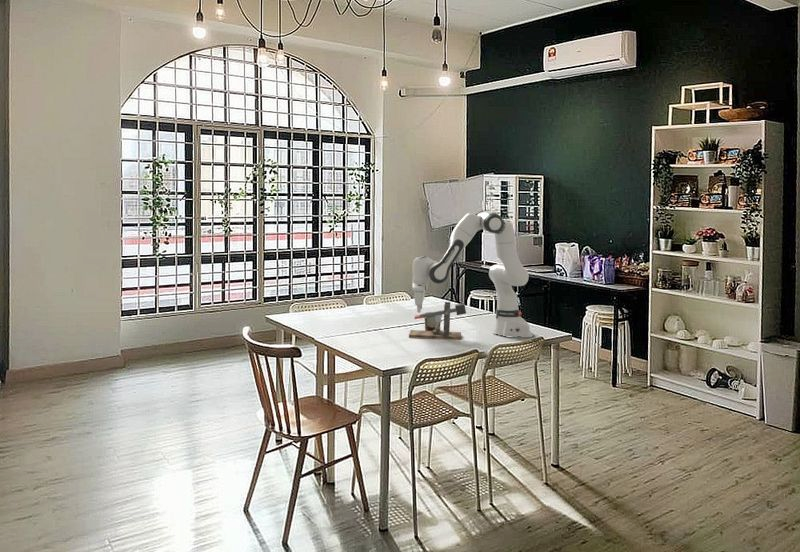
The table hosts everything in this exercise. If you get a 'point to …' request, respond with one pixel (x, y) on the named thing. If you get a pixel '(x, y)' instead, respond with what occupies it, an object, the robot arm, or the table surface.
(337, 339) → the table surface
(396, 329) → the table surface
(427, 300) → the table surface
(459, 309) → the lever
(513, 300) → the robot arm
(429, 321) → the food container
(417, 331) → the toy catapult
